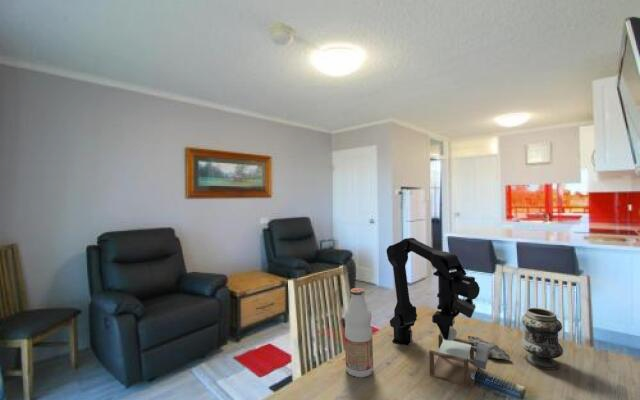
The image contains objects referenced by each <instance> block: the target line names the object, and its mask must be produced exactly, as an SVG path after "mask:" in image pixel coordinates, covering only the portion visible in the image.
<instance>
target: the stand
mask: <svg viewBox="0 0 640 400" xmlns="http://www.w3.org/2000/svg"><path fill="white" fill-rule="evenodd" d="M437 339H438V349H439V348H440V346H441V344H442V342H443V340H444V339H443V338H442V336H441V335H440V333H439V334H438V338H437ZM452 341H455V342H460V343H464V344H470V345H471V346H474V341H469V339H463V338H458V337H455V339H454V340H452ZM428 353H429V355H428V357H429V361H428V362H429V366H428V367H429V376H430V377H434V378H438V379H440V380H441V379H442V380H443V381H447V382H450V383H454V384H458V385H461V386H465V387H469V388H472V389H474V386H475V382H476V379H475V380H473V379H472V378H471V373H473V372H477V373H478V370H479V368H478V367H474V363H471V362H468V359H472V360H474V357H475V350H474V349H471V350H470V353H469V358H468V359H465V358H460V357H456V356H452V355H448V354H444V353H440V352H438V351H435V350H431V349H430V350H429V352H428ZM435 356H436V357H437V359H436V361H435Z"/></svg>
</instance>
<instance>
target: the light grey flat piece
mask: <svg viewBox="0 0 640 400" xmlns="http://www.w3.org/2000/svg"><path fill="white" fill-rule="evenodd" d="M471 349H476V350H475V352H474V360H472V359H470V358H469V357H470V350H471ZM437 352H440V353H444V354H448V355H452V356H456V357H460V358H465V359H468V362H471V363H474V367H478V369H482V370H486V368H487V364H488V360H489V357H488V355H489V347H488V346H484V345H479V344H478V346H477V347H475V346H471V345H469V344H466V343H462V342H457V341H453V340H451V341H447V340H444V339H443V342H442V344H441V346H440V348H439V347H438V350H437Z"/></svg>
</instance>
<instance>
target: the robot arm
mask: <svg viewBox="0 0 640 400" xmlns="http://www.w3.org/2000/svg"><path fill="white" fill-rule="evenodd" d="M411 252H413V253H414V254H416V255H418V256H419V257H422V258H423V259H425V260H427V261H428V262H430V264H431V266H432V267H433V268H434V269H435V270H436V271H435V272H433V276H436V277H438V279H437V280H438V281H437V282H438V283H437V285H438V288H437V289H438V292H437V294H436V297H437V298H438V305H437V307H436V309H437V310H436V311H435V312H434V313H433V315H432V317H431V321H432V323H433V324H436V326H437V327H438V328H439V329H438V330H439V332H440V331H441V333H442V335H443V337H444V339H445V340H448V336H449V331H450V326H452V327H453V328H454V325H455V323H456V321H455V318H456V317H457V316H458V315H460V314H462V315H463V316H466V318H469V319H471V318H472V316H473V314H474V312H475V310H476V304H475V303H474V300H476V299H477V298H478V297H479V295H480V291H481V289H480V286H479V283H478V282H477V281H476V278H475V276H468V275H467V272H466V270H465V269H464V267H463V265H462V264H461V262H460V260H459V257H458V255H457V254H455V253H452V252H448V251H442V250H437V249H435V248H433V247H431V246H429V245H427V244H426V243H423V242H421V241H419V240H417V239H416V238H414V237H407V238H403V239H402V240H400V241H399V242H397V243H394V244H392V245H389V246H388V247H387V248H386V256H387V261H388V262H389V263H390V265H391V266H392V270H393V279H394V287H395V288H394V289H395V294H396V295H395V297H396V305H395V306H394V313H393V314H394V316H393V317H391V319H390V320H389V324H390V325H389V326H390V327H391V328H393V339H392V343H395V344H399V345H403V346H410V344H411V343H412V341H413V330H412V328H411V327H414V326H415V323H416V321H417V317H418V313H417V307H416V306H415V305H413V304H412V303H411V300H410V291H409V285H408V277H407V269H406V268H407V267H406V265H407V263H408V260H409V253H411ZM460 297H464V298H465V299H464V298H460ZM444 339H443V340H444Z"/></svg>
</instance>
